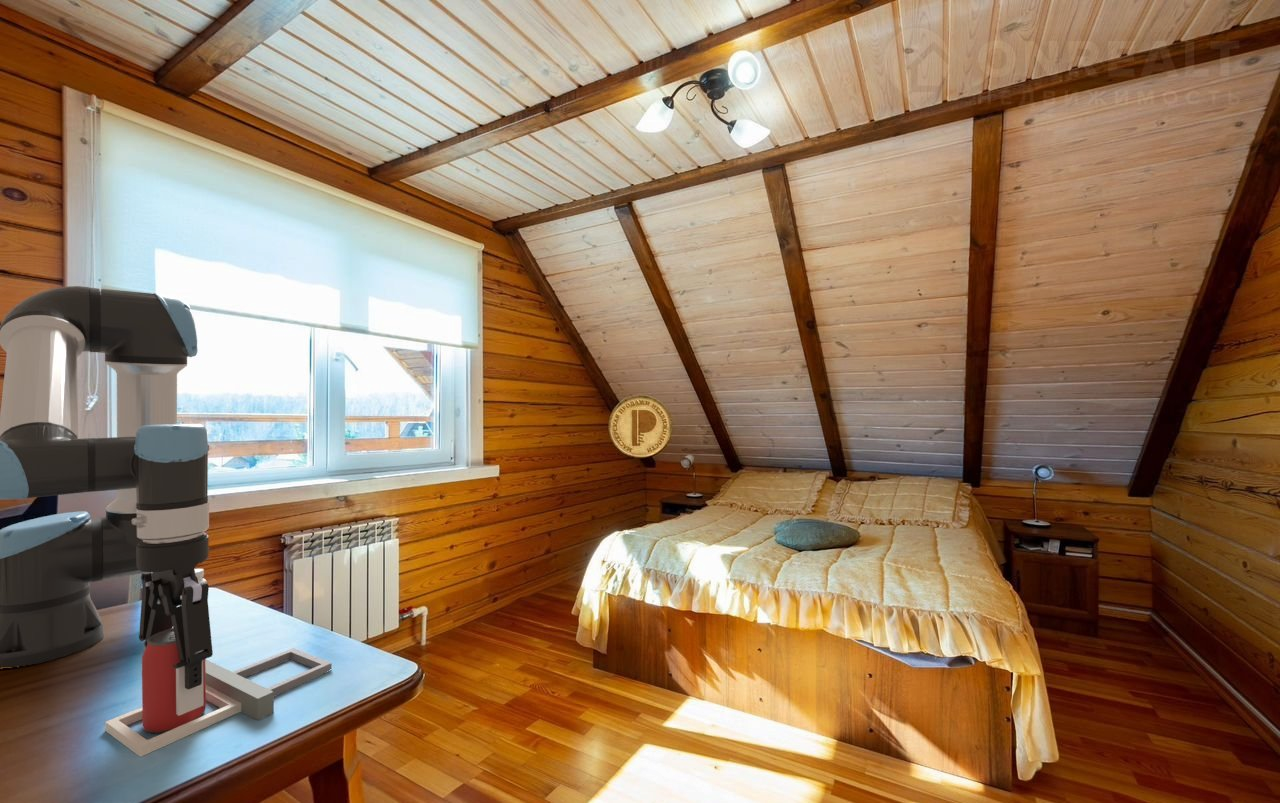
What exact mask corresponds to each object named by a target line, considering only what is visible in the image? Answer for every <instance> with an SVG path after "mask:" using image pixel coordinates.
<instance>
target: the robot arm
mask: <svg viewBox="0 0 1280 803" xmlns="http://www.w3.org/2000/svg"><path fill="white" fill-rule="evenodd" d="M0 347H1V348H2V350H3V351H5V352H6V356H5V367H4V378H3V386H2V395H1V402H0V403H1V404H0V501H1V500H3V501H4V500H8V501H9V500H25V499H32V498H33V499H34V498H40V497H41V498H43V497H52V496H53V497H54V496H62V495H63V496H64V495H70V494H71V495H72V494H81V493H82V494H83V493H92V492H96V493H97V492H106V491H117V492H116V494H117V495H116V498H115V499H114V500H113V501H112V502H110V503H109V504H108V505H106V507H105V516H103V517H95V518H91V515H90V513H89V512H88V511H81V510H77V511H73V512H72V511H71V512H62V513H56V514H50V515H47V516H45V515H44V516H40V517H37V518H33V519H27V520H23V521H21V522H17V523H14V524H10V525H8V526H6V527H5V526H4V527H2V528H1V529H0V668H1V667H17V666H23V667H26V666H25V665H29V666H32V665H31V664H34V665H37V664H43V663H46V662H49V661H53V660H56V659H60V658H63V657H67V656H70V655H72V654H74V653H77V652H81V651H83V650H85V649H88V648H89V647H91V646H93V645H96V644H97V643H98V642H100V641H101V640H102V639H103V638H104V633H105V632H104V629H105V628H104V621H103V620H102V618H101V616H100V614H99V612H98V610H97V608H96V606H95V603H94V602H93V600H92V599H91V592H90V591H91V586H90V585H91V584H90V583H94V582H101V581H106V580H111V579H119V578H122V577H128V576H129V577H130V576H134V575H140V574H141V576H140V579H141V588H142V589H141V590H142V591H141V603H140V604H141V606H140V619H139V620H140V621H139V632H138V633H139V634H138V639H139V641H140V642H142V641H144V647H145V648H146V646H147V644H148V643H147V640H148V638H150V637H151V636H153V635H154V634H156V633H159V632H161V631H164V630H168V629H172V628H173V629H174V635H175V640H176V645H177V650H178V655H179V660H180V662H179V663H177V664H174V665H173V667H174V669H176V714H177V715H178V716H180V715H182V714H184V713H187V712H189V711H192V710H194V709H196V708H199V707H201V706H203V705H204V700H203V660H204V659H206V660H208V658H211V657H213V644H212V632H211V622H210V611H209V583H208V582H205V583H201V584H198V579H197V577H196V575H195V570H194V569H196V566H197V565H199V564H203V563H205V561H207V560H208V558H209V556H210V553H209V552H210V546H209V545H210V540H209V539H210V537H209V535H208V534H207V533H206V531H207V530H208V529H210V501H209V498H208V497H209V496H208V486H209V484H208V482H209V481H208V479H209V478H208V476H209V473H208V472H209V471H208V470H209V466H208V465H209V464H208V462H209V451H210V444H209V442H208V430H207V429H206V427H205V426H204V425H203V424H199V423H178V374H179V373H180V372H181V371H183V369H185V368H186V367H187V366H188V357H189V358H193V357H195V356H197V354H198V350H199V349H198V335H197V328H196V324H195V319H194V315H193V312H192V310H191V307H190V305H189V303H188V302H187V301H186V300H184V299H183V298H182V297H177V296H172V295H167V294H161V293H159V294H158V293H151V292H150V293H149V292H140V291H139V292H138V291H132V290H131V291H128V290H119V289H109V288H108V289H107V288H97V287H96V288H95V287H89V286H82V285H73V286H72V285H71V286H70V285H69V286H59V287H54V288H51V289H48V290H44V291H40V292H38V293H36V294H33V295H31V296H28V297H27V298H25V299H23V300H22V301H20V302H19V303H18V304H16V305H15V306H14V307H12V309H10V310H9V311H8V312H7V313H6V315H5V316H4V317H3V319H1V324H0ZM83 352H86V353H87V352H89V353H103V354H104V363H105V364H106V365H107V366H108V367H110V368H111V369H112V370H114V372H115V373H116V437H97V438H95V437H89V438H87V437H84V438H79V413H78V412H79V409H78V408H79V406H78V405H79V404H78V403H79V401H78V400H79V399H78V396H79V395H78V394H79V393H78V357H79V356H81V355H82V353H83ZM180 605H182V606H180ZM17 668H18V667H17Z"/></svg>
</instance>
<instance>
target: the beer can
mask: <svg viewBox="0 0 1280 803" xmlns="http://www.w3.org/2000/svg"><path fill="white" fill-rule="evenodd" d="M147 643H148V644H147V646H146V647H145V649H144V651H143V653H142V655H141V656H142V657H141V692H142V693H141V694H142V695H141V698H142V699H141V700H142V702H141V703H142V704H141V705H142V707H141V708H142V719H141V720H142V727H143V728H142V729H144V731H145V732H149V733H152V734H163V733H165V732H168V731H170V730H172V729H174V728H177V727H179V726H181V725H184V724H186V723H188V722H190V721H193V720H195V719H197V718H200V717H202V716H203V714H204V713H205V711H206V707H207V704H206V703H207V700H206V668H205V659H204V660H203V700H204V705H203V706H201V707H199V708H196V709H194V710H192V711H189V712H187V713H184V714H182V715H180V716H178V715H177V714H176V669H174V667H173V665H174V664H177V663H179V662H180V660H179V655H178V650H177V645H176V640H175V635H174V629H173V627H172V629H168V630H164V631H161V632H159V633H156V634H154V635H153V636H151V637H150V638H148V640H147Z"/></svg>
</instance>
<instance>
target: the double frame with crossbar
mask: <svg viewBox="0 0 1280 803" xmlns="http://www.w3.org/2000/svg"><path fill="white" fill-rule="evenodd" d="M292 659H293V661H295V662H297V663H299V662H300V664H302V665H305V666H307V667H309V668H310V669H307V670H306V671H303V672H301V673H298V674H296V675H294V676H291V677H290V678H287V679H285V680H283V681H280V682H278V683H275V684H273V685H271V686H269V687H265V686H263V685H261V684H258V683H256V682H254V681H252V680H250V679H248V678H247V677H249V676H252V675H254V674H257V673H260V672H262V671H265V670H267V669H269V668H271V667H274V666H277V665H279V664H282V663H284V662H286V660H287V661H289V660H292ZM332 664H333V663H332V662H330V661H327V660H325V659H323V658H319V657H317V656H314V655H312V654H309V653H307V652H305V651H303V650H302V651H301V650H300V649H296V648H294V647H292V648H289V649H287V650H286V651H282V652H280V653H278V654H275V655H272V656H270V657H267V658H264V659H262V660H259V661H258V662H254V663H252V664H249V665H247V666H244V667H242V668H240V669H237V670H234V671H231V670H229V669H227V668H225V667H222V666H221V665H218V664H216V663H214V662H212V661H210V660H208V659H205V668H206V702H209V703H211V704H213V705H214V706H216V707H218V709H216V710H214V711H211V712H209V713H207V714H205V715H201V716H200V717H199V718H197V719H195V720H193V721H190V722H188V723H186V724H184V725H181V726H179V727H177V728H174V729H172V730H170V731H168V732H162V733H160V734H159V735H156V736H154V737H152V738H149V739H146V738H144V737H143V736H141V735H140V734H139V733H138V732H136V731H135V730H133V729H132V728H131V727H129V725H132V724H134V723H137V722H138V721H141V720H142V707H140V708H139V707H138V708H137V709H134V710H132V711H129V712H127V713H124V714H122V715H120V716H117V717H113V718H112V719H109V720H106V721H104V723H105V725H104V726H105V727H104V730H105V732H107V733H108V734H109V735H111V736H112V737H113V738H114V739H116V740H117V741H118V742H119V743H121V744H122V745H124V746H125V747H126V748H128V749H129V750H130V751H132V753H133V752H134V754H136V755H137V756H138V757H140V758H141V757H143V756H146V755H148V754H150V753H153V752H154V751H157V750H159V749H161V748H164V747H165V746H168V745H170V744H172V743H174V742H177V741H179V740H181V739H183V738H186V737H188V736H190V735H192V734H194V733H196V732H199V731H201V730H203V729H205V728H208V727H210V726H212V725H214V724H216V723H218V722H221V721H223V720H225V719H229V717H231V716H235V715H236V714H238V713H240V712H241V713H244V714H245V715H247V716H249V717H251V718H253V719H255V720H257V721H260V720H262V719H264V718H266V717H268V716H270V715H272V714H275V710H274V709H275V707H274V704H275V703H274V702H275V700H274V699H275V697H276V696H278V695H280V694H282V693H284V692H287V691H289V690H292V689H294V688H296V687H298V686H300V685H302V684H303V685H304V683H307V682H308V681H311V680H314V679H316V678H319V677H320V676H322V675H324V674H323V673H325V672H327V671H329V670H330V669H332V667H333V666H332ZM329 672H330V671H329ZM327 673H328V672H327ZM325 674H326V673H325Z"/></svg>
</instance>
